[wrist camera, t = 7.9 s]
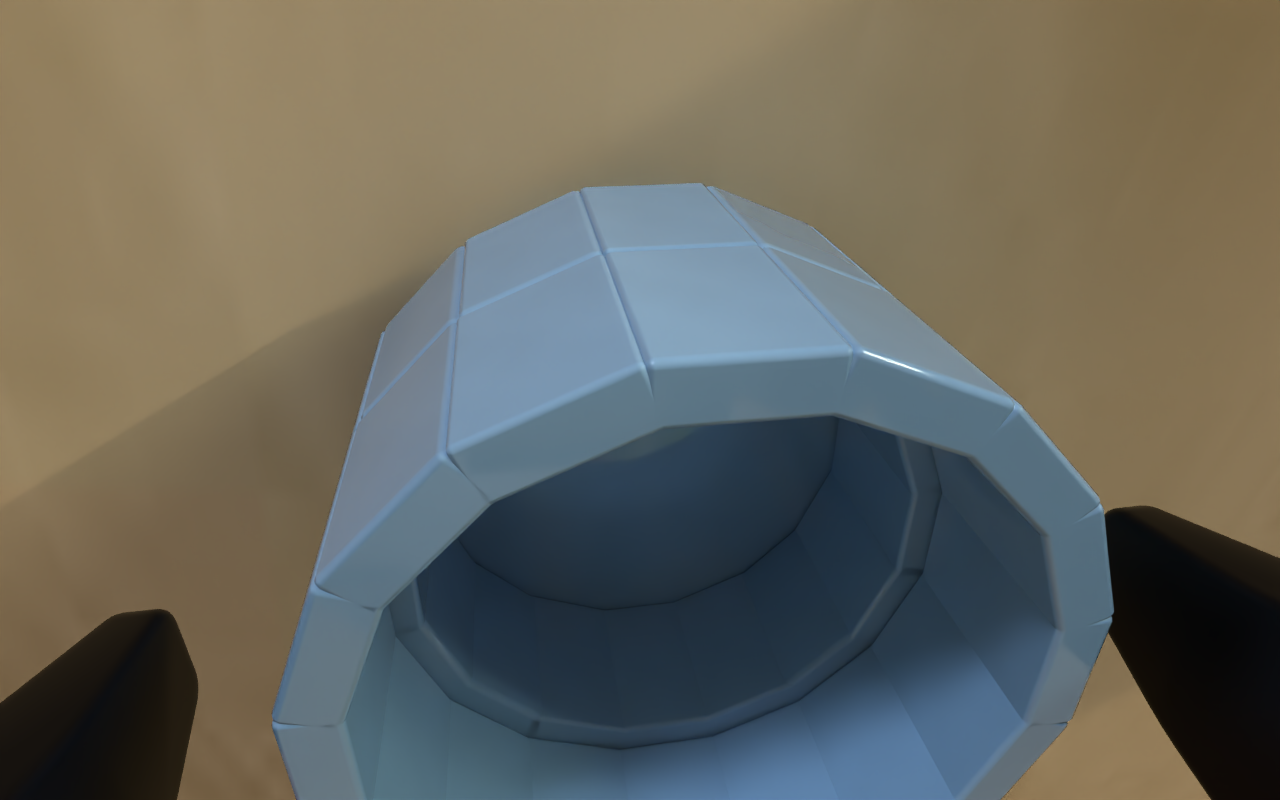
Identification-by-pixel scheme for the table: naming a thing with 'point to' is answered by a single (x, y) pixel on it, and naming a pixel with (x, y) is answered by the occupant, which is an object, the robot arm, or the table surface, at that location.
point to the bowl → (686, 533)
